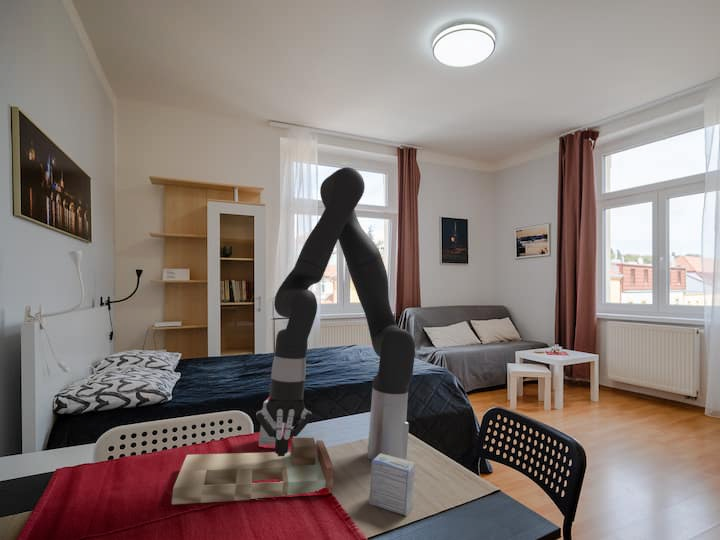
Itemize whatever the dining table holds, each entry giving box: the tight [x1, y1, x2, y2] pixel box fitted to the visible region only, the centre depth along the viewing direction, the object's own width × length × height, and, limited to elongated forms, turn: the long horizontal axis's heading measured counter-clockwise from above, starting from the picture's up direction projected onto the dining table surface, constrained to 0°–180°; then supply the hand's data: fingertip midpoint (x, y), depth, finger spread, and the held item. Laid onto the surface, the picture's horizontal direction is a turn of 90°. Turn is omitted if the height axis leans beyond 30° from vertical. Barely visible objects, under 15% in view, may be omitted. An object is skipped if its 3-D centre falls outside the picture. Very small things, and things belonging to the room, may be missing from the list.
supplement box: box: [258, 397, 285, 445], centre depth 100 cm, size 6×6×12 cm
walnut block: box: [290, 437, 317, 466], centre depth 86 cm, size 5×5×4 cm
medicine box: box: [368, 453, 416, 517], centre depth 76 cm, size 8×4×9 cm, turn 65°
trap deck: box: [171, 439, 335, 505], centre depth 81 cm, size 30×14×6 cm, turn 105°
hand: (280, 454), depth 85 cm, fingers closed
